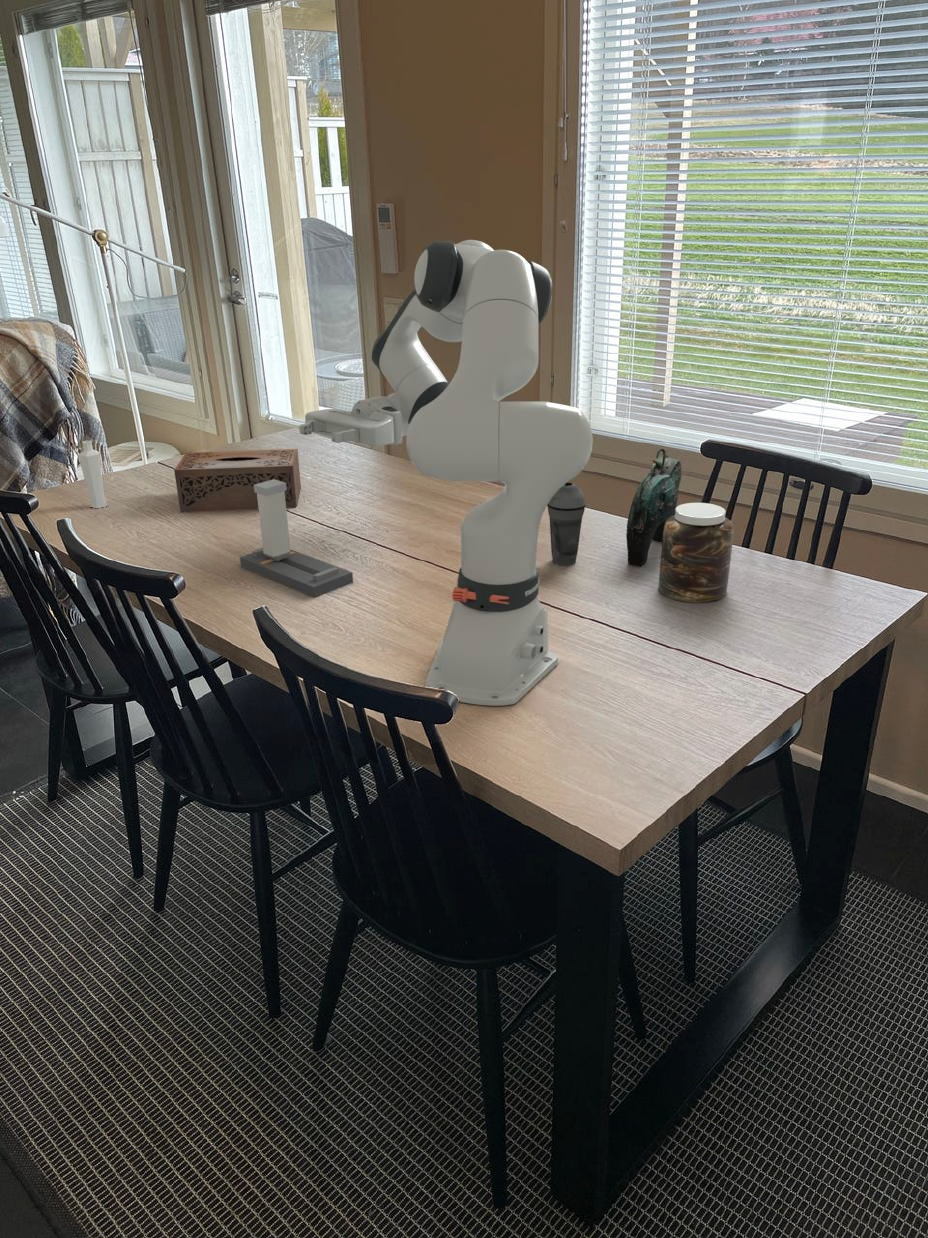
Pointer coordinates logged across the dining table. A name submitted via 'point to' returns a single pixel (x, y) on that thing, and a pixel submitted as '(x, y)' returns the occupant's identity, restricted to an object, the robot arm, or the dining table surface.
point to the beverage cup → (566, 523)
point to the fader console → (298, 572)
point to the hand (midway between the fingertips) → (317, 434)
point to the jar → (696, 553)
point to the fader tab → (273, 519)
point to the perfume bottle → (92, 475)
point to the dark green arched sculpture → (652, 507)
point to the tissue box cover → (234, 478)
